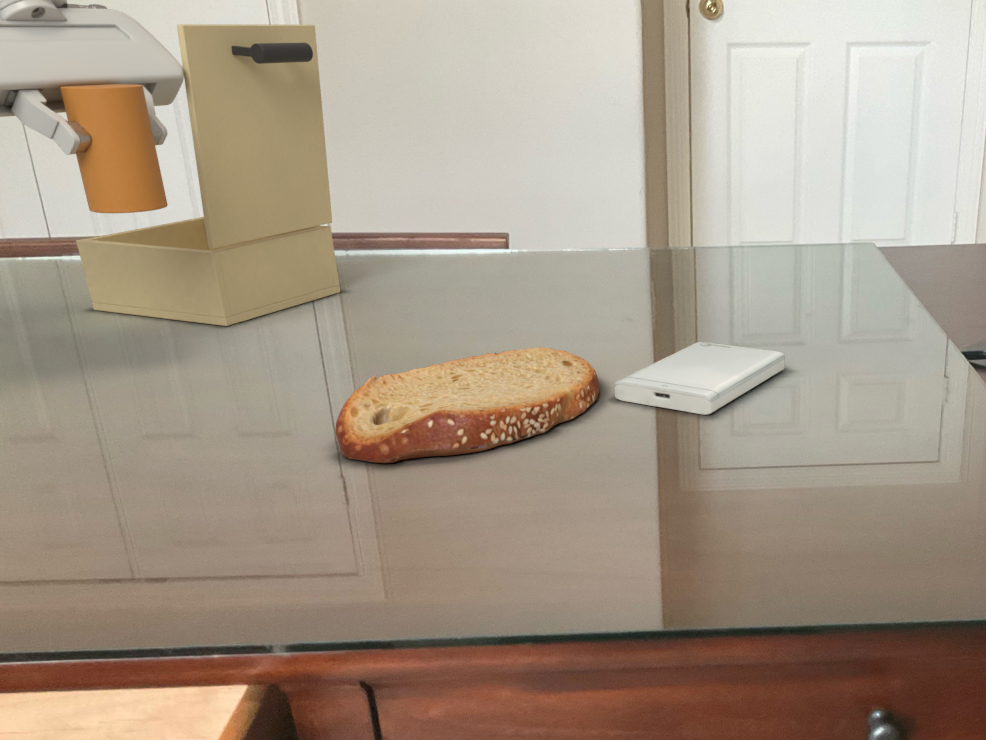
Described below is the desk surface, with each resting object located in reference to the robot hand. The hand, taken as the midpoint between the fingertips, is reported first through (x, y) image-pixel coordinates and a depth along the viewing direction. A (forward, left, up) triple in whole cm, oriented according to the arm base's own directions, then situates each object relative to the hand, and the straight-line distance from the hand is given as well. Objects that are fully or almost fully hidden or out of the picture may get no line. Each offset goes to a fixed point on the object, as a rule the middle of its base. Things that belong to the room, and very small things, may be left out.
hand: (120, 144), depth 84 cm
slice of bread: (+14, -30, -17) cm, 37 cm away
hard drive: (+31, -34, -17) cm, 49 cm away
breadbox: (+9, +20, -17) cm, 28 cm away
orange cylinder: (0, +1, -5) cm, 5 cm away
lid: (+14, +12, -1) cm, 18 cm away
